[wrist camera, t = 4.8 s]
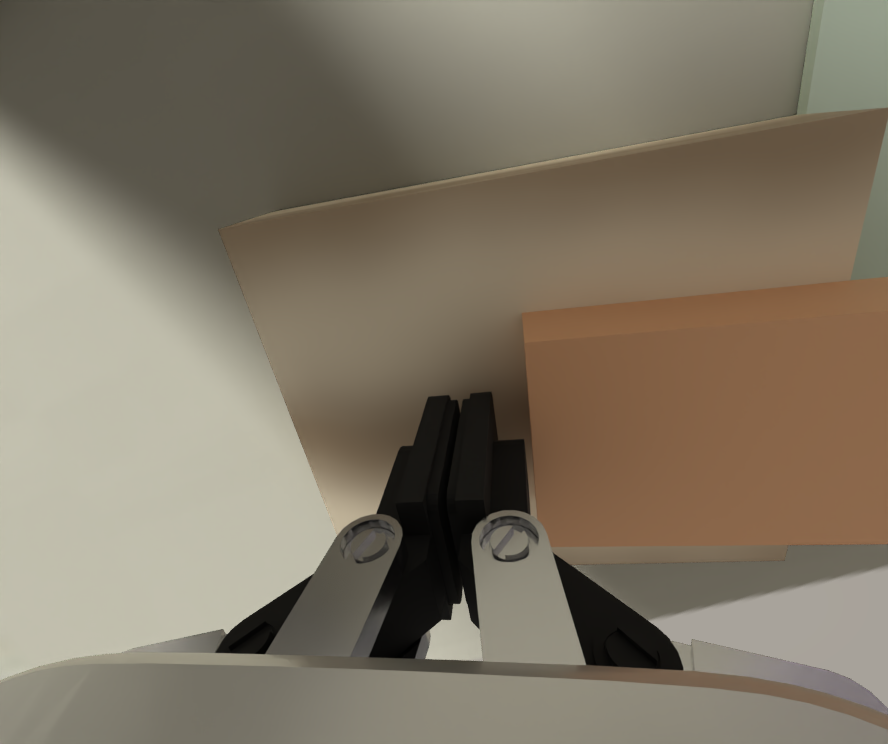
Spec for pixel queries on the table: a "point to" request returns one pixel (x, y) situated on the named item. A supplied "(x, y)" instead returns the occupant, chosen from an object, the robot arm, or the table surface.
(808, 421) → the tile
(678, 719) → the robot arm
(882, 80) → the mat
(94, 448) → the table surface
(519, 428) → the plate
